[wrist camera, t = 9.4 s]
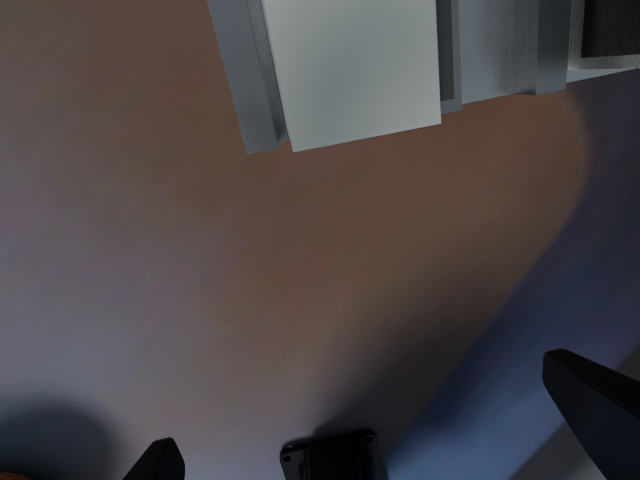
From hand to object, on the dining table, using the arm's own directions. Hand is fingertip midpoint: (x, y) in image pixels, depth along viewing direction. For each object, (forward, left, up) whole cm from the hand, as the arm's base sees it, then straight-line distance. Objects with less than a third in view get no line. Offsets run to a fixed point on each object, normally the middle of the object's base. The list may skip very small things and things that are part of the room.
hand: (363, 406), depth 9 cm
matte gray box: (+8, -2, -10) cm, 13 cm away
